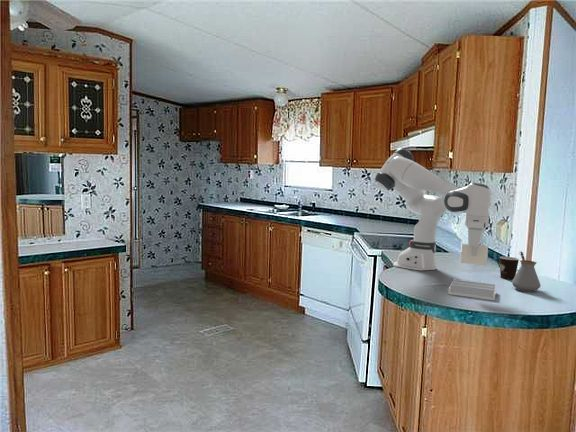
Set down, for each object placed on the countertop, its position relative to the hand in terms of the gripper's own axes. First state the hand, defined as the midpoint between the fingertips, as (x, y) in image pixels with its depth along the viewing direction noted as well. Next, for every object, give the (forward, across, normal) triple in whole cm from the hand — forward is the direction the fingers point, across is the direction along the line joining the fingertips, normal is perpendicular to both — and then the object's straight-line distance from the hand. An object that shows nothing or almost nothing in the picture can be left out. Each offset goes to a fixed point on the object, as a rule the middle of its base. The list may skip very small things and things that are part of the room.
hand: (474, 255), depth 196 cm
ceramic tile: (+4, 0, 0) cm, 4 cm away
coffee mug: (+17, -46, +13) cm, 51 cm away
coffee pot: (+17, -28, +20) cm, 39 cm away
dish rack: (+17, -3, 0) cm, 17 cm away
